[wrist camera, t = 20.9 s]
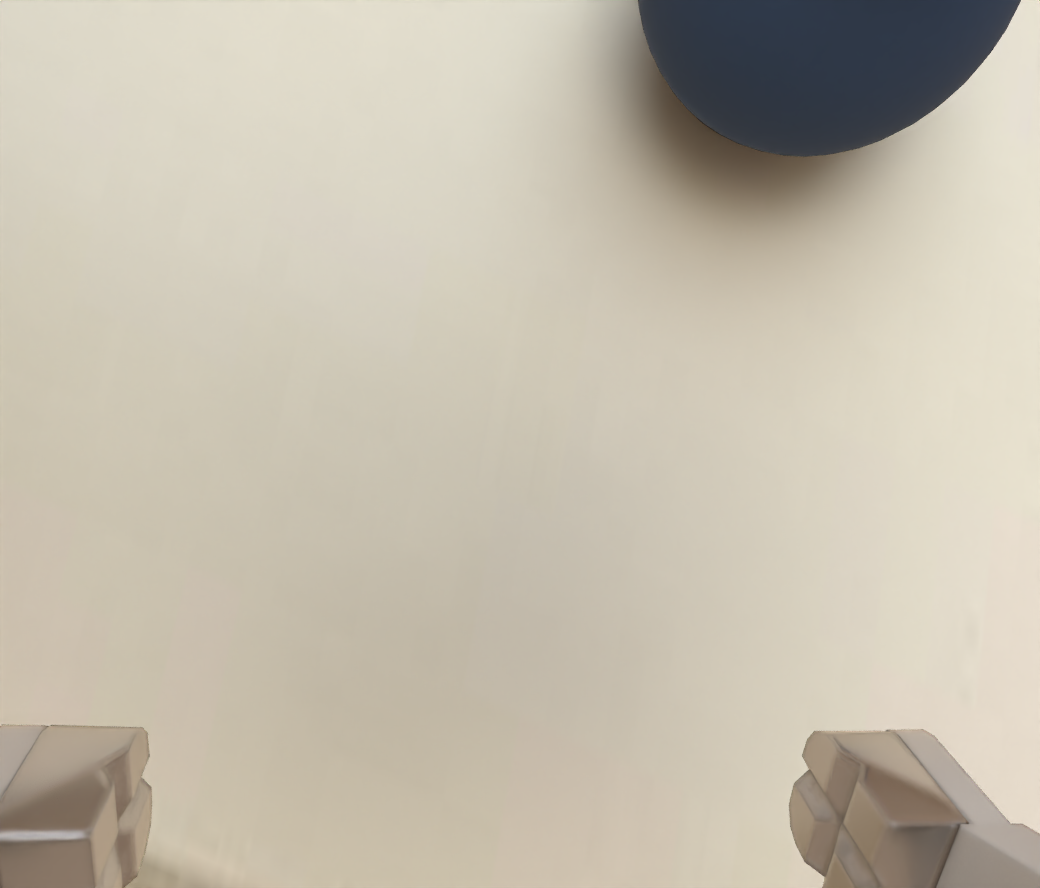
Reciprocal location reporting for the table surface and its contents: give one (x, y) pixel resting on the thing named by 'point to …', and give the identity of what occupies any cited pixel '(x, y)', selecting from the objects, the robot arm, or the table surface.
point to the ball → (818, 64)
